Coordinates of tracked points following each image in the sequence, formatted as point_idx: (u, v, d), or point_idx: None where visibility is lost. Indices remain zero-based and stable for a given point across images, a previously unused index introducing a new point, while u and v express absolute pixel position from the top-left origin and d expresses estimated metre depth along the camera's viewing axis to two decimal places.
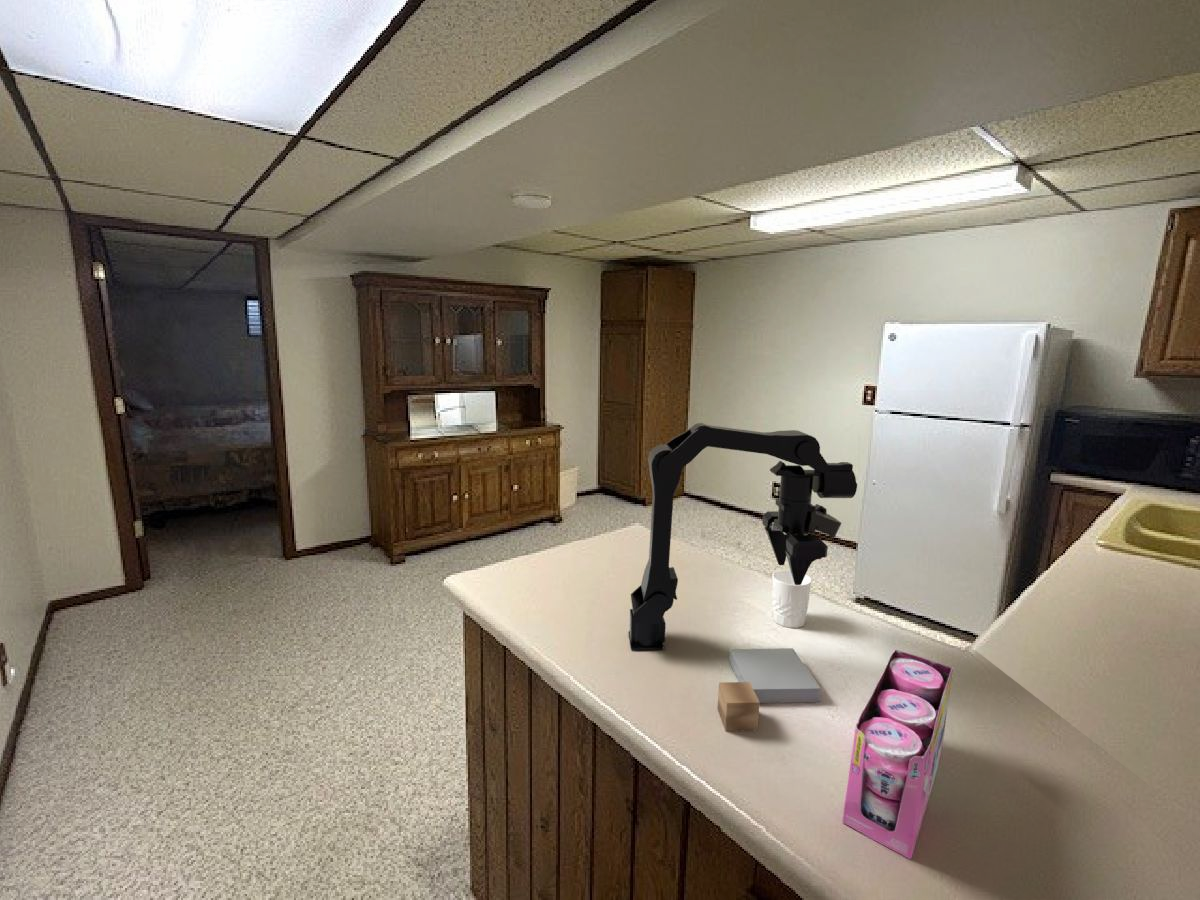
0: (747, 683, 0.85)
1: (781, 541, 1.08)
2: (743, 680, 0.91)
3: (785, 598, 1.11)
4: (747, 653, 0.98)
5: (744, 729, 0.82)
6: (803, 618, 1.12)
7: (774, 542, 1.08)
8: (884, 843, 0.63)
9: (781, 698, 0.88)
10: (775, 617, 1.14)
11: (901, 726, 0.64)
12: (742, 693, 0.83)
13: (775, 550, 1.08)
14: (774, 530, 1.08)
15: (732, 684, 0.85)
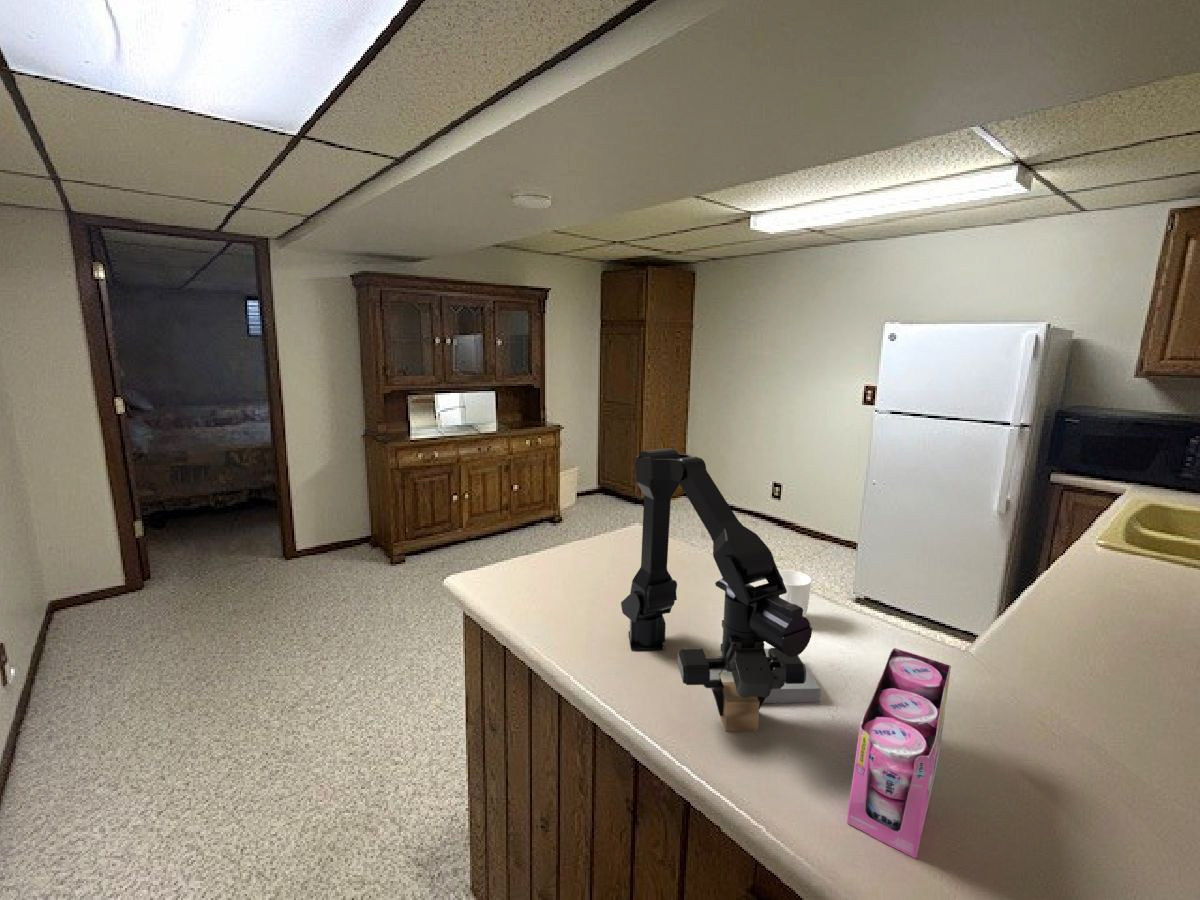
0: None
1: None
2: None
3: (785, 598, 1.11)
4: None
5: (744, 728, 0.82)
6: None
7: None
8: (889, 843, 0.63)
9: (781, 698, 0.88)
10: None
11: (904, 725, 0.65)
12: None
13: None
14: None
15: (732, 684, 0.85)
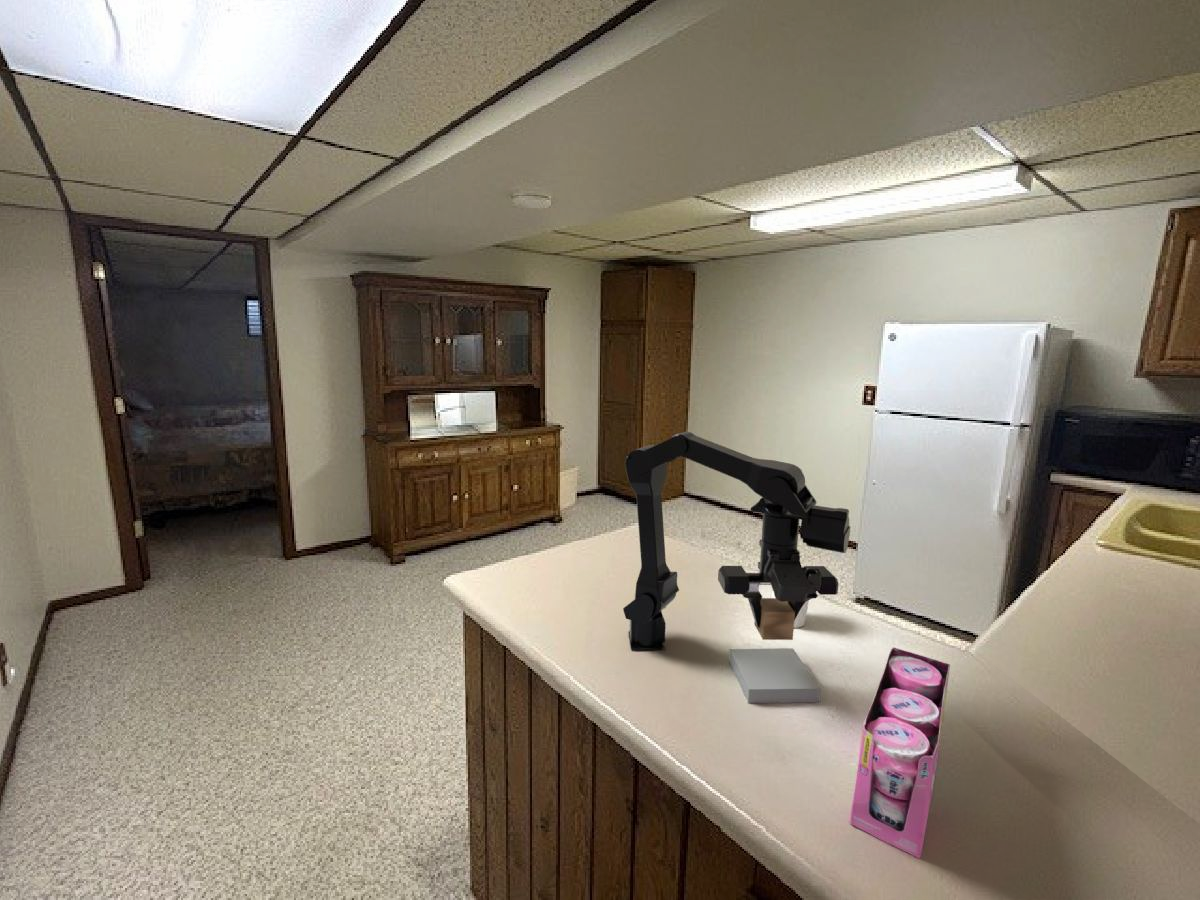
0: None
1: None
2: (743, 680, 0.91)
3: None
4: (747, 653, 0.98)
5: (780, 637, 0.89)
6: (803, 618, 1.12)
7: None
8: (893, 843, 0.63)
9: (781, 698, 0.88)
10: None
11: (907, 725, 0.65)
12: (778, 605, 0.90)
13: None
14: None
15: (768, 599, 0.92)
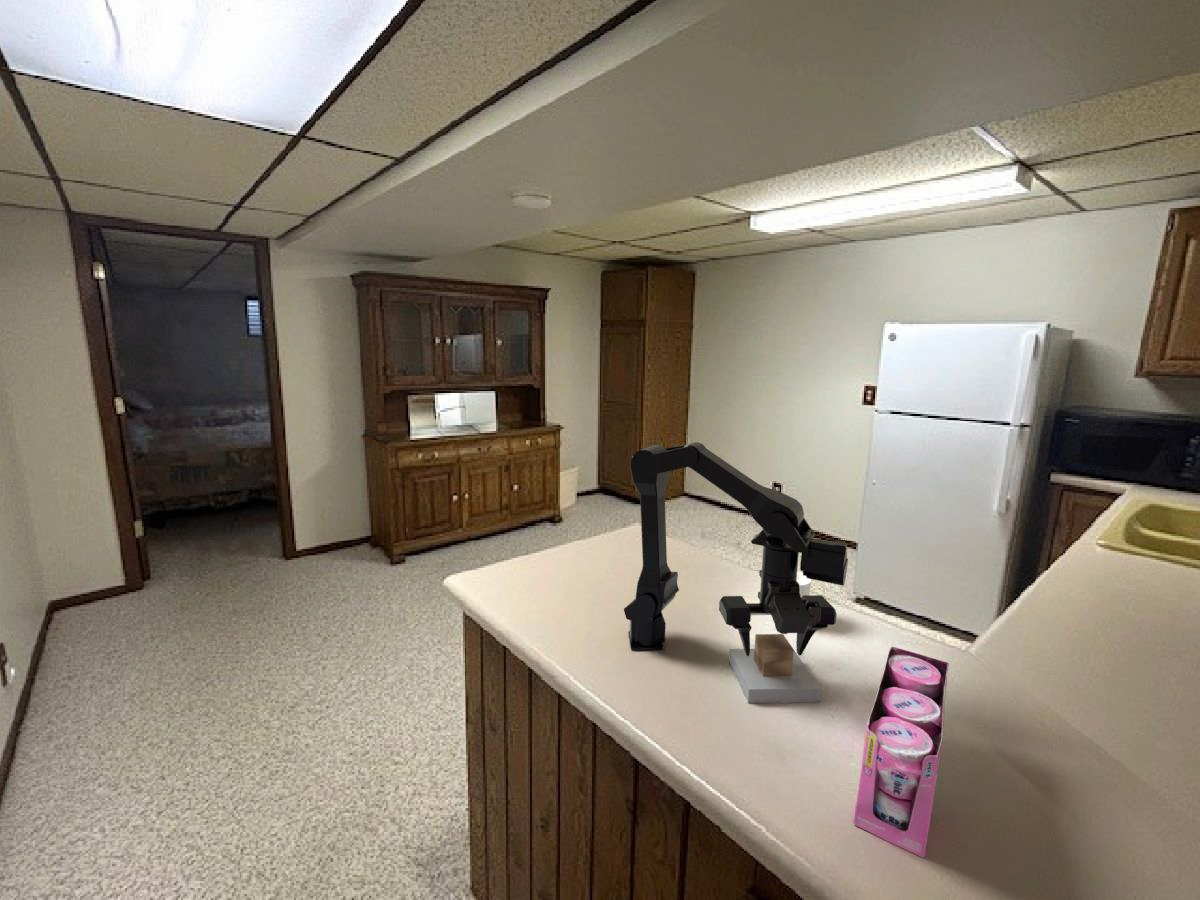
0: (781, 635, 0.95)
1: None
2: (743, 680, 0.91)
3: None
4: None
5: (780, 674, 0.91)
6: None
7: None
8: (897, 843, 0.63)
9: (781, 698, 0.88)
10: None
11: (909, 725, 0.65)
12: (777, 642, 0.92)
13: (797, 634, 0.94)
14: None
15: (767, 636, 0.94)
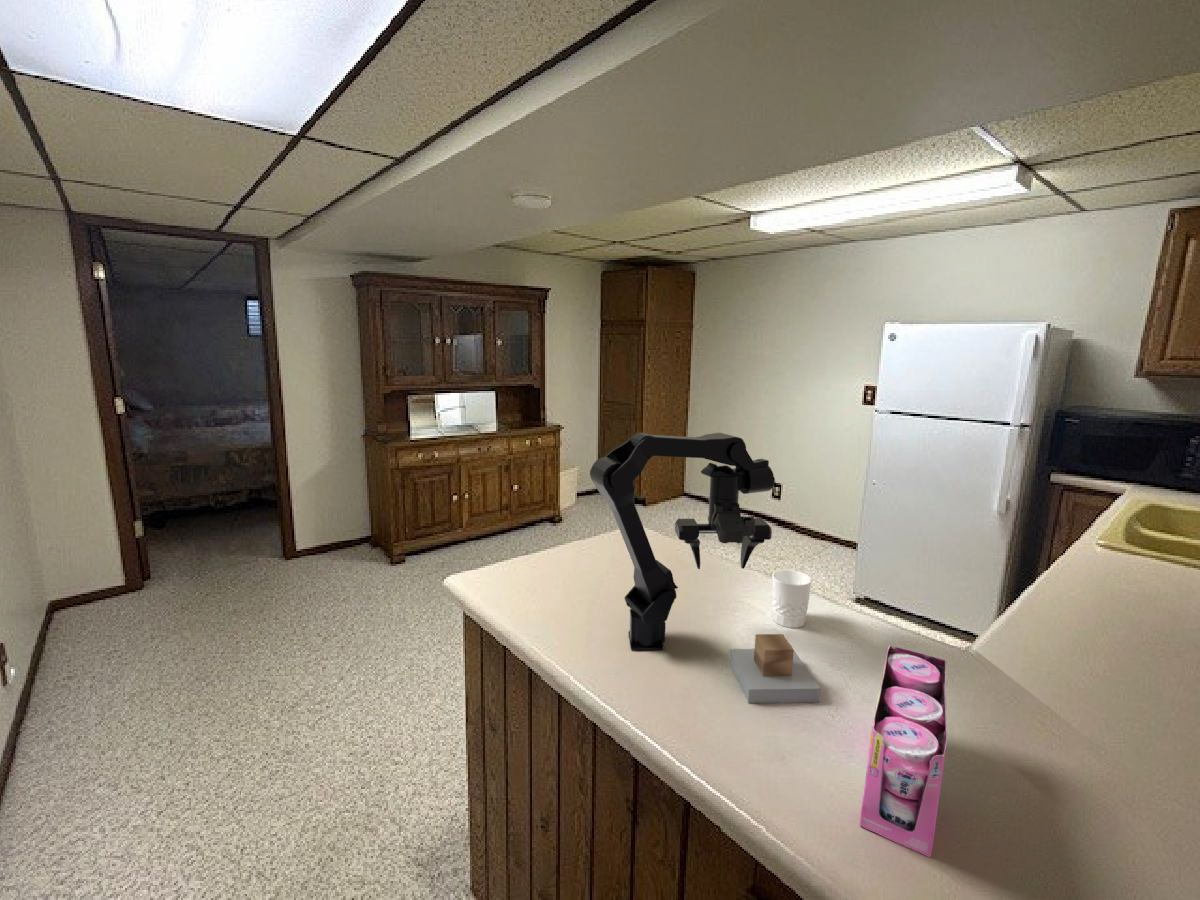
0: (781, 635, 0.95)
1: (744, 545, 1.10)
2: (743, 680, 0.91)
3: (785, 598, 1.11)
4: (747, 653, 0.98)
5: (780, 674, 0.91)
6: (803, 618, 1.12)
7: (742, 543, 1.11)
8: (903, 843, 0.63)
9: (781, 698, 0.88)
10: (775, 617, 1.14)
11: (914, 724, 0.65)
12: (777, 642, 0.92)
13: (741, 551, 1.11)
14: None
15: (767, 636, 0.94)
